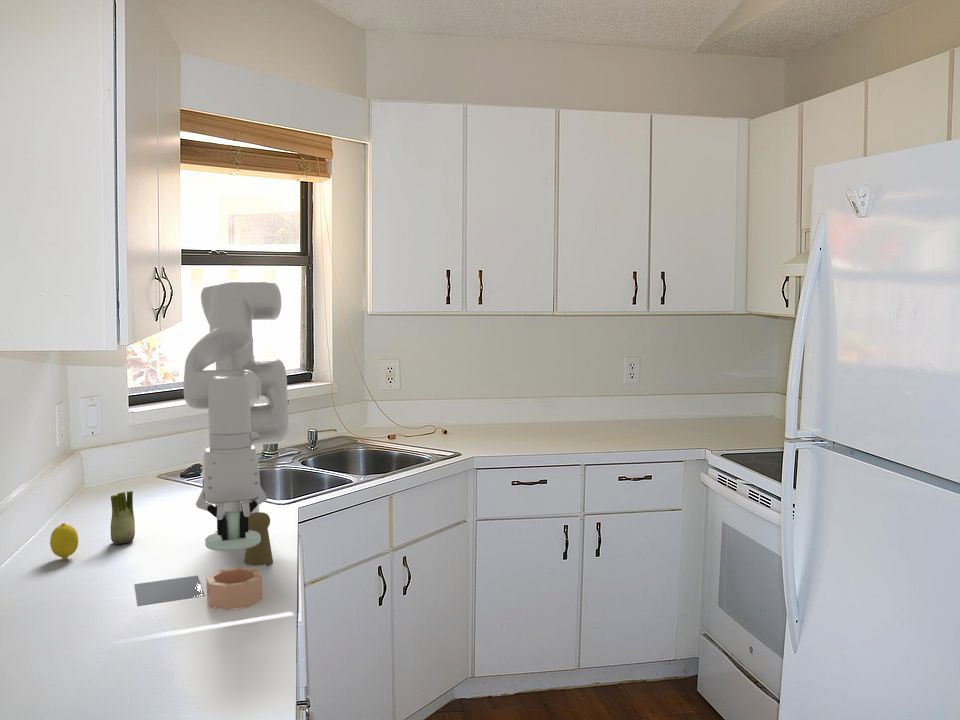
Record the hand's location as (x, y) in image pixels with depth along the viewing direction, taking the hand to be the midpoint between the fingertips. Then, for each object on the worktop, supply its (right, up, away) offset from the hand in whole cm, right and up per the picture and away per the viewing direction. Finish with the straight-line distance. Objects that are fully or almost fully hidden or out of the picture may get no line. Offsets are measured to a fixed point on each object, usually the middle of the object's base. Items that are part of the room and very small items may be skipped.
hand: (233, 536), depth 159 cm
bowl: (0, -13, +2) cm, 13 cm away
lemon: (-44, -10, +25) cm, 52 cm away
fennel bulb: (-36, -9, +37) cm, 52 cm away
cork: (-1, -11, +23) cm, 25 cm away
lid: (0, -1, 0) cm, 1 cm away
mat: (-14, -12, +6) cm, 20 cm away
